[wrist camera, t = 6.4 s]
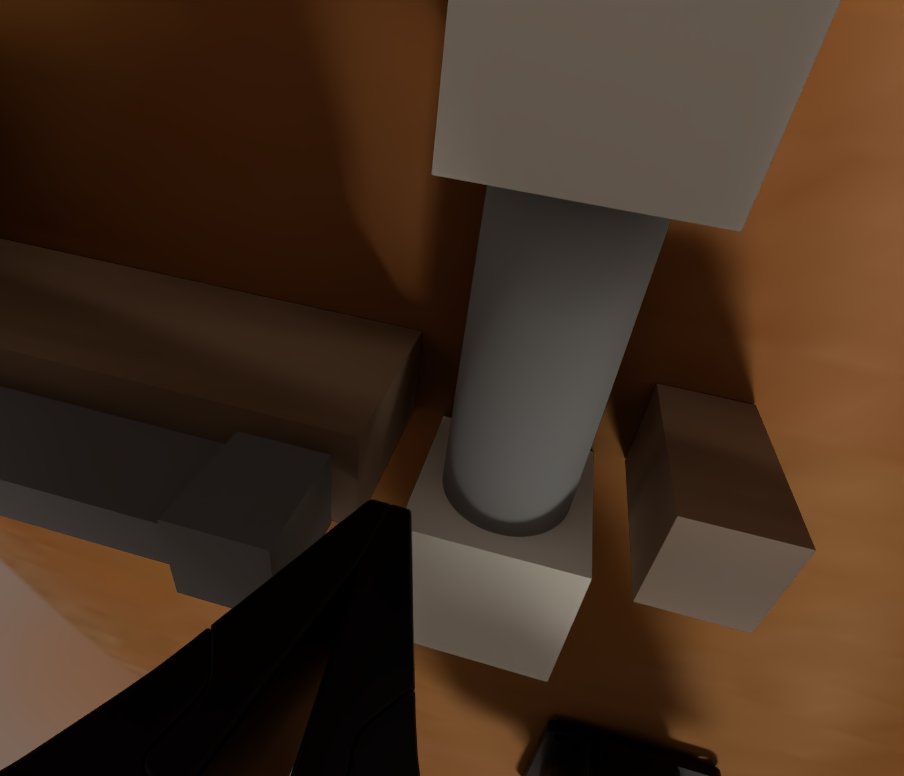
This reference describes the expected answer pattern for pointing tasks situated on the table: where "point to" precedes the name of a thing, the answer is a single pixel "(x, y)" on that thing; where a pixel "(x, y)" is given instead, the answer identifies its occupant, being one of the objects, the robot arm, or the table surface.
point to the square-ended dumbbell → (574, 270)
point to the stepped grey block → (163, 493)
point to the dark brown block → (385, 414)
